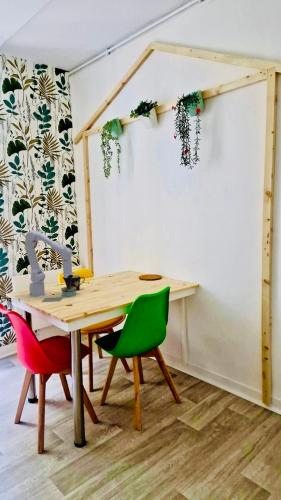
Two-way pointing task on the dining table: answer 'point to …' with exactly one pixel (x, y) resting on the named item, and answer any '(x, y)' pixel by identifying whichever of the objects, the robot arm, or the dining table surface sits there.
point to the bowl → (68, 293)
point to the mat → (52, 299)
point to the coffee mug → (76, 282)
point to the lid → (68, 288)
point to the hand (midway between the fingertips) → (68, 286)
